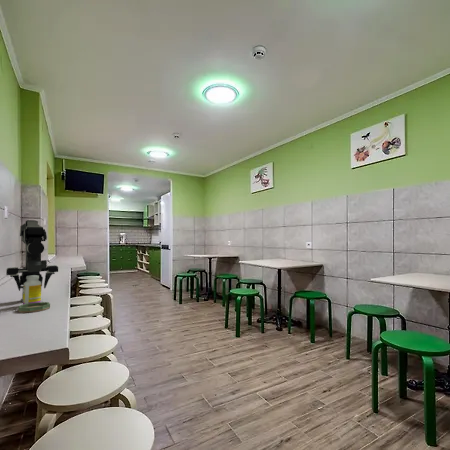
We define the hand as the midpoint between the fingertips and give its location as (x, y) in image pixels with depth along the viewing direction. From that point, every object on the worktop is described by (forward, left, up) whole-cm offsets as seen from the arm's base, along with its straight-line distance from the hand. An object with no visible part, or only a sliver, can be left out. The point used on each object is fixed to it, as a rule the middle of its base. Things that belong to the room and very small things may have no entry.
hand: (32, 289), depth 121 cm
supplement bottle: (0, 0, -7) cm, 7 cm away
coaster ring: (+11, 0, -7) cm, 13 cm away
